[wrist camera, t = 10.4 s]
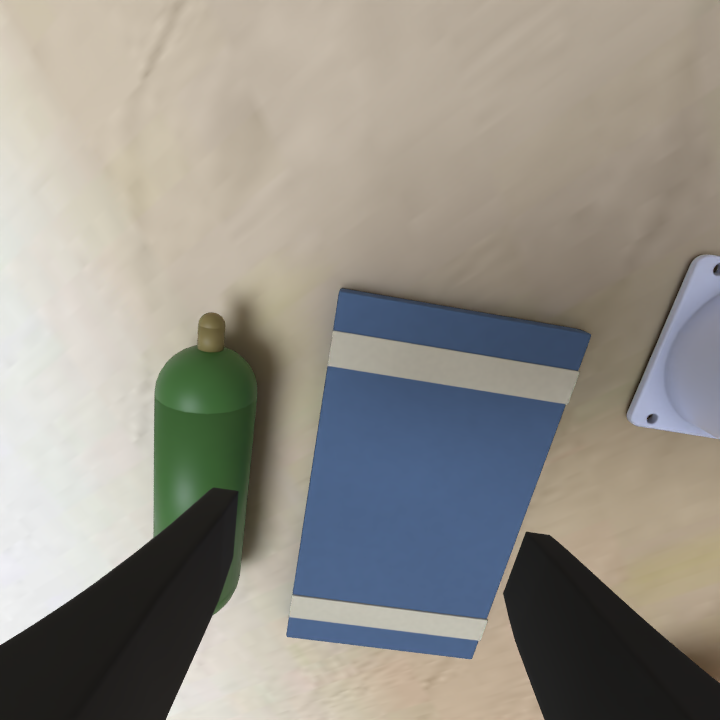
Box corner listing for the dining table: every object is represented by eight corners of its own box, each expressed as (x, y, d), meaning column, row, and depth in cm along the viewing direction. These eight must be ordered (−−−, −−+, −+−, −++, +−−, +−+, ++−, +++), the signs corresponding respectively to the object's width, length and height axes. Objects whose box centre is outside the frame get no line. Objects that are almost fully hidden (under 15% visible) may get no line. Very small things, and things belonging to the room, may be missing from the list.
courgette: (242, 571, 22) (230, 642, 18) (167, 570, 21) (139, 644, 17) (268, 309, 17) (259, 332, 14) (174, 296, 17) (137, 317, 13)
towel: (579, 328, 17) (594, 334, 16) (467, 643, 23) (472, 661, 22) (340, 287, 17) (339, 290, 16) (289, 620, 23) (285, 639, 22)
